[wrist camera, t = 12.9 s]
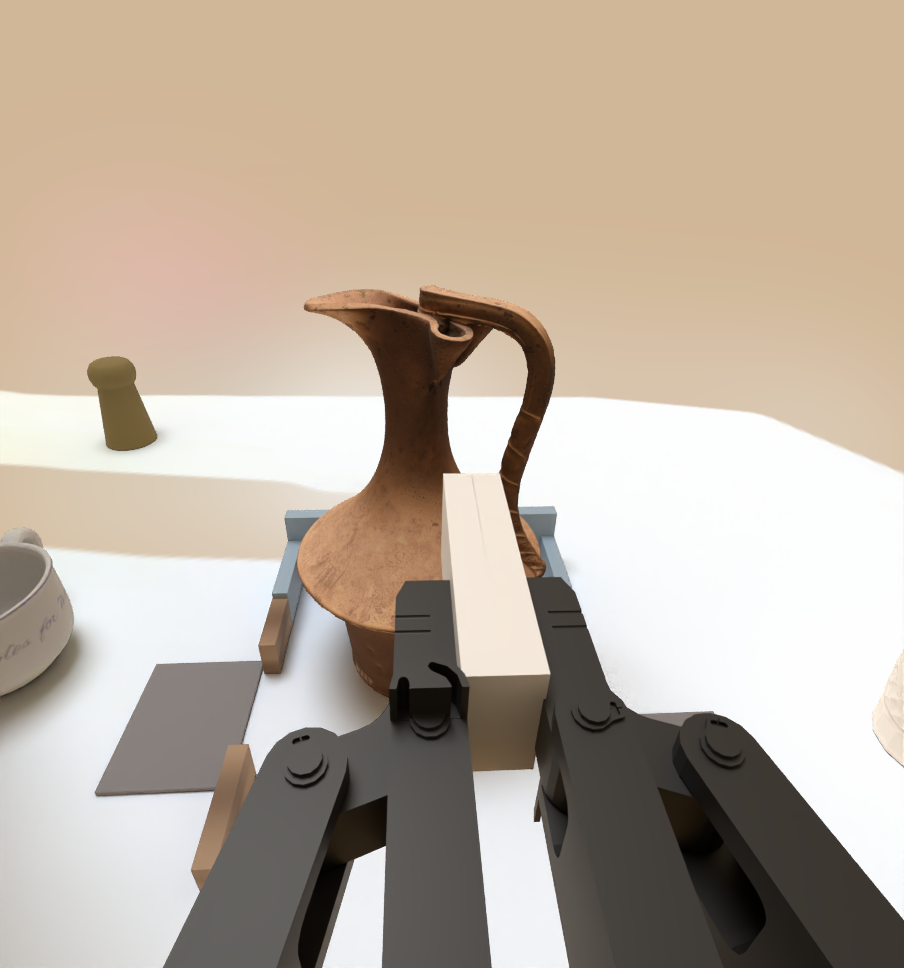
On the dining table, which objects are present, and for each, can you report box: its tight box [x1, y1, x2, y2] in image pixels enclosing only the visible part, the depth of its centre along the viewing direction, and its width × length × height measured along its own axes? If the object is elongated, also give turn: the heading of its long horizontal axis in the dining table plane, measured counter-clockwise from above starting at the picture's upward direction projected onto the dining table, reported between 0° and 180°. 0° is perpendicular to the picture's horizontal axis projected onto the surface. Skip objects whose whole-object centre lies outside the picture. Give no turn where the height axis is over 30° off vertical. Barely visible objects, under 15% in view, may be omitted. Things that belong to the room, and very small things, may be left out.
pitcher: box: [296, 285, 555, 697], centre depth 39 cm, size 18×17×28 cm
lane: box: [191, 598, 292, 891], centre depth 39 cm, size 20×24×3 cm
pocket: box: [272, 506, 572, 625], centre depth 50 cm, size 8×24×6 cm, turn 94°
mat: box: [95, 661, 263, 795], centre depth 40 cm, size 10×8×1 cm
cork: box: [87, 357, 157, 451], centre depth 73 cm, size 6×6×11 cm
